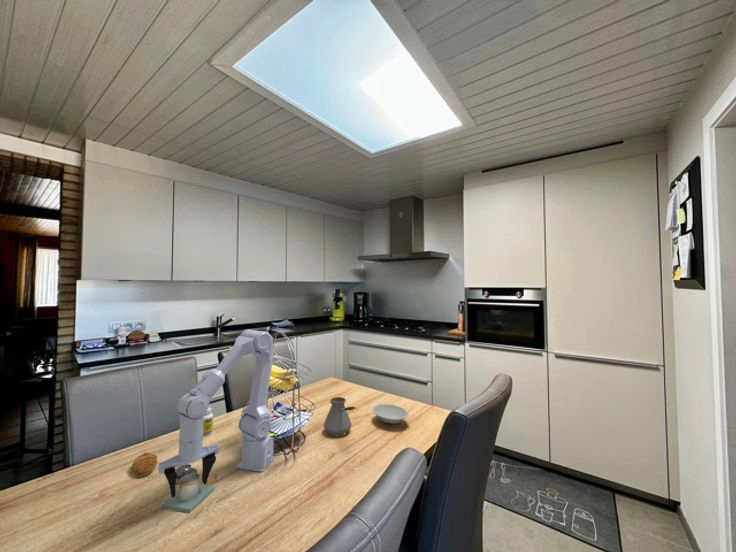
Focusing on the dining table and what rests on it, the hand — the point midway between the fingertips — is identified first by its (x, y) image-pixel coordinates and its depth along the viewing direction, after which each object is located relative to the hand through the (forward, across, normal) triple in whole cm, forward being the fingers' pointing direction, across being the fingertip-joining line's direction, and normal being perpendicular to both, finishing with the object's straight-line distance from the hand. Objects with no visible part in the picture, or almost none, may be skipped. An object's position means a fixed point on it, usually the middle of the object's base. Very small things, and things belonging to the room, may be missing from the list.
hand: (189, 488), depth 83 cm
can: (+2, 0, 0) cm, 2 cm away
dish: (+3, -77, +6) cm, 78 cm away
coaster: (+3, 0, 0) cm, 3 cm away
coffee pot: (+3, -54, +2) cm, 54 cm away
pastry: (+3, +6, -25) cm, 26 cm away
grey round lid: (+3, -1, -12) cm, 12 cm away
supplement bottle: (+3, -14, -37) cm, 40 cm away
